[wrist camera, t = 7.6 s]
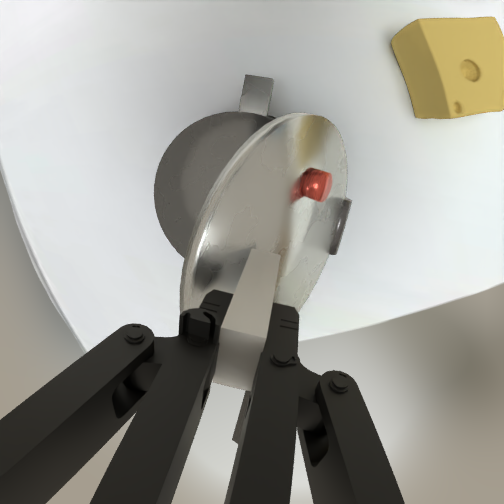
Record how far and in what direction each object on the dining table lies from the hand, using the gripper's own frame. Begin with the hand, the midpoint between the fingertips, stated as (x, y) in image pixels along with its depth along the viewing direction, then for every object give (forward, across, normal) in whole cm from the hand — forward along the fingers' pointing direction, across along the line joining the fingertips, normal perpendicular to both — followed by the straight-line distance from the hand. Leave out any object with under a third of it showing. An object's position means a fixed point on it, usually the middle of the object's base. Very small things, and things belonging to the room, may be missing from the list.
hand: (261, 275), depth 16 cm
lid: (+5, +1, -6) cm, 8 cm away
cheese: (+22, +15, +19) cm, 33 cm away
